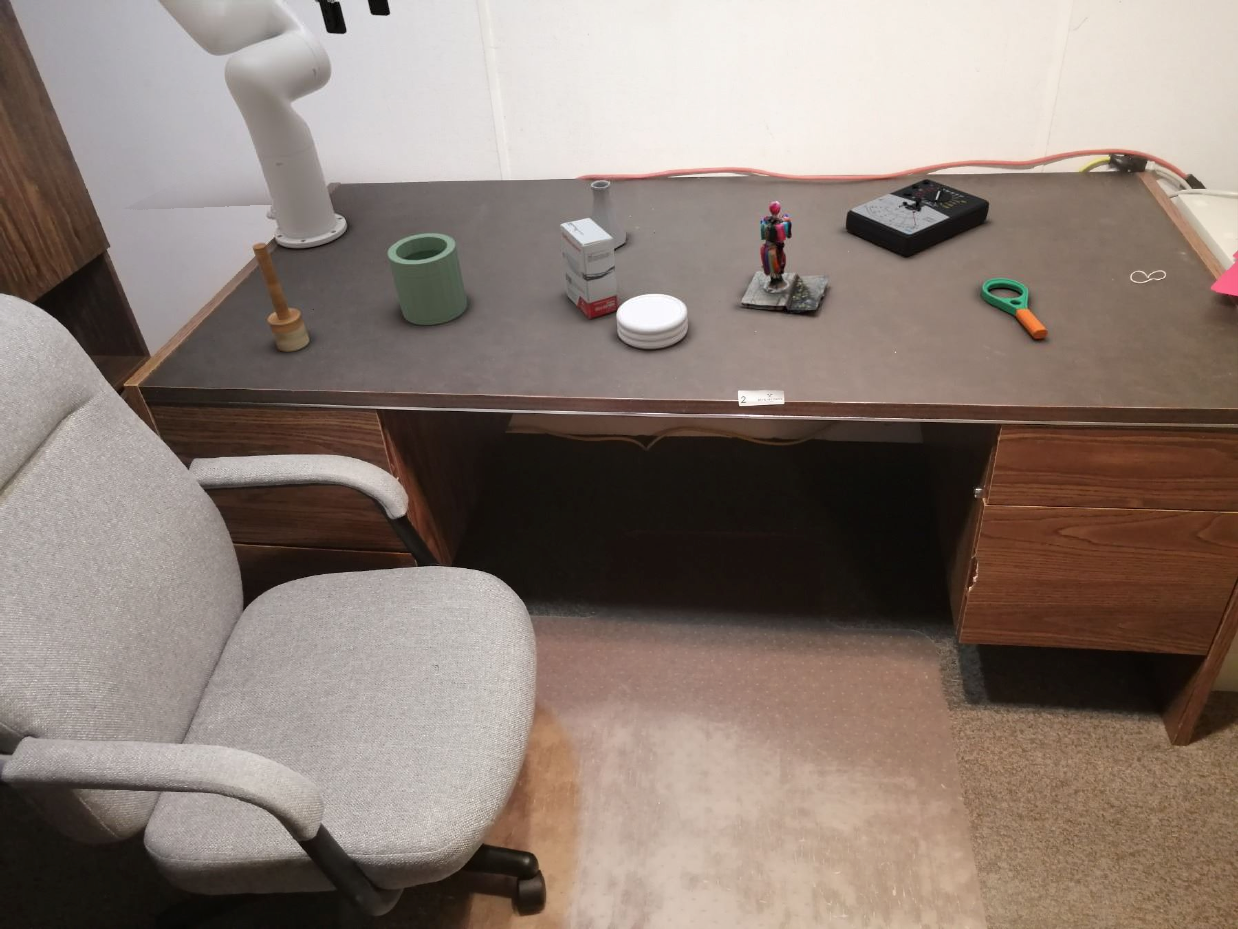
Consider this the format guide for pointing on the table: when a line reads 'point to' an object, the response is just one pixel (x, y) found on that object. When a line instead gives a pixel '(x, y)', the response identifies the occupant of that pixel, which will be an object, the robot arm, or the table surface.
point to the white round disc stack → (652, 321)
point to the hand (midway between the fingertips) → (359, 23)
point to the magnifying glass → (1014, 304)
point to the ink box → (589, 267)
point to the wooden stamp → (280, 307)
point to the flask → (606, 212)
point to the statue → (781, 272)
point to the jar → (428, 278)
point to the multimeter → (916, 216)
